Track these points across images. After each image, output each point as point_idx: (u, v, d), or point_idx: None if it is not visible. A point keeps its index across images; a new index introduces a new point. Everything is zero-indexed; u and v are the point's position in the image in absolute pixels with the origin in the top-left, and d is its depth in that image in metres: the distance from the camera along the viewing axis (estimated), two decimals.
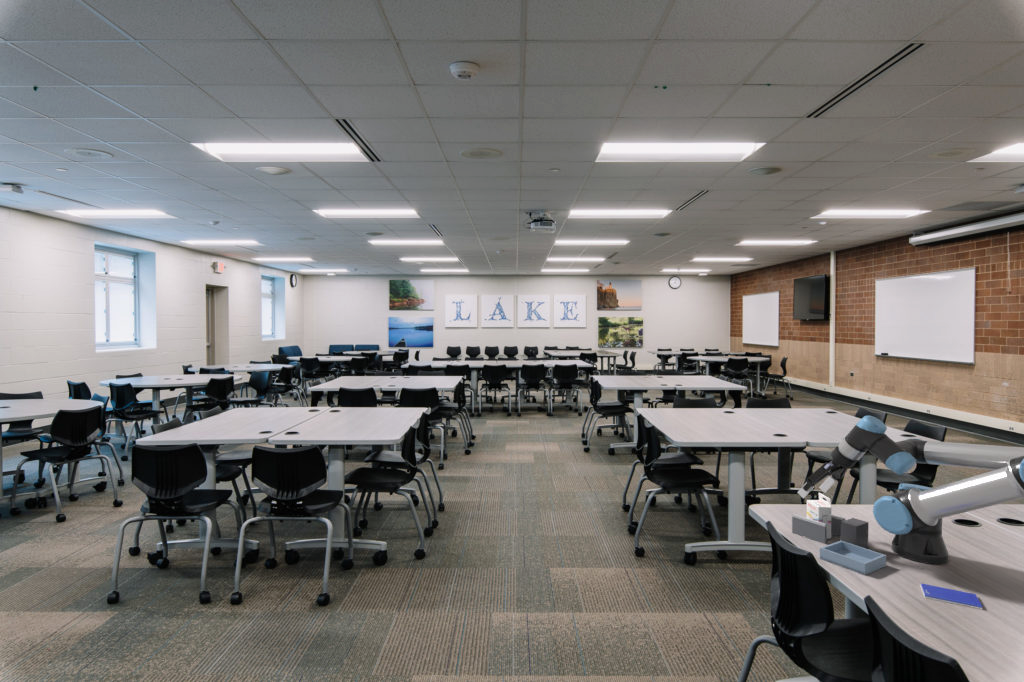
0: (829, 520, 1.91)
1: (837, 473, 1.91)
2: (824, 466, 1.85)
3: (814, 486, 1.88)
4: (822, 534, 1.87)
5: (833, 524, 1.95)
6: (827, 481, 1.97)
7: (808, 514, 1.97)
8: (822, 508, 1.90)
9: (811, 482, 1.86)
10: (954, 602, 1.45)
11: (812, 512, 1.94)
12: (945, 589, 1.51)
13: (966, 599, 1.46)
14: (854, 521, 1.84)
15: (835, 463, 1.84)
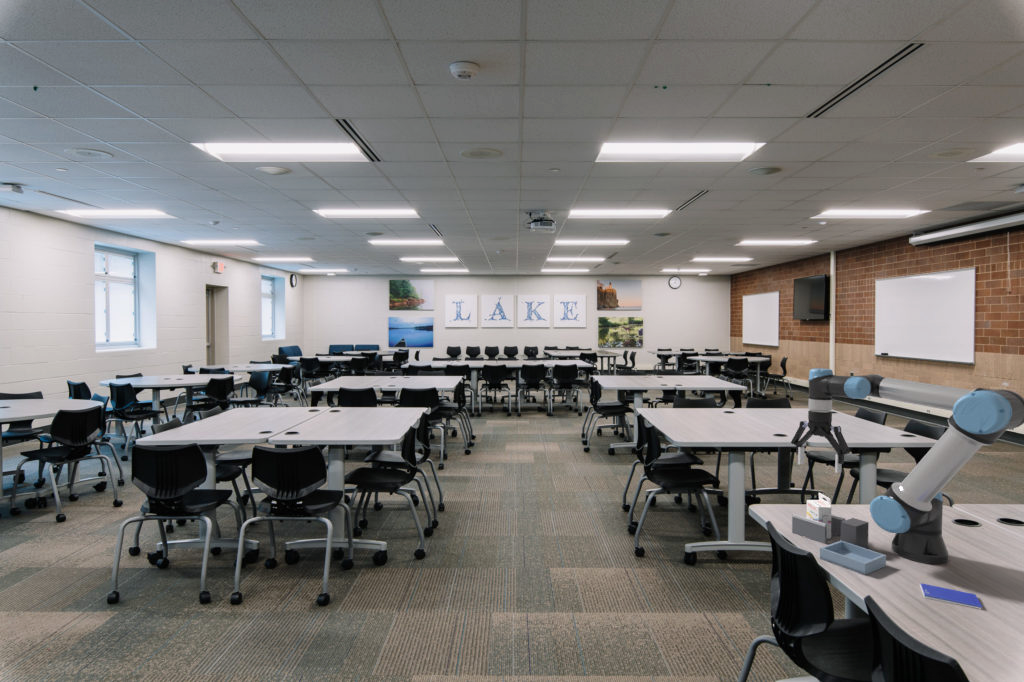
0: (829, 520, 1.90)
1: None
2: None
3: (799, 447, 1.99)
4: (822, 534, 1.87)
5: (833, 524, 1.95)
6: None
7: (808, 514, 1.97)
8: (822, 508, 1.90)
9: None
10: (954, 602, 1.45)
11: (812, 512, 1.94)
12: (945, 589, 1.51)
13: (965, 599, 1.46)
14: (854, 521, 1.84)
15: None
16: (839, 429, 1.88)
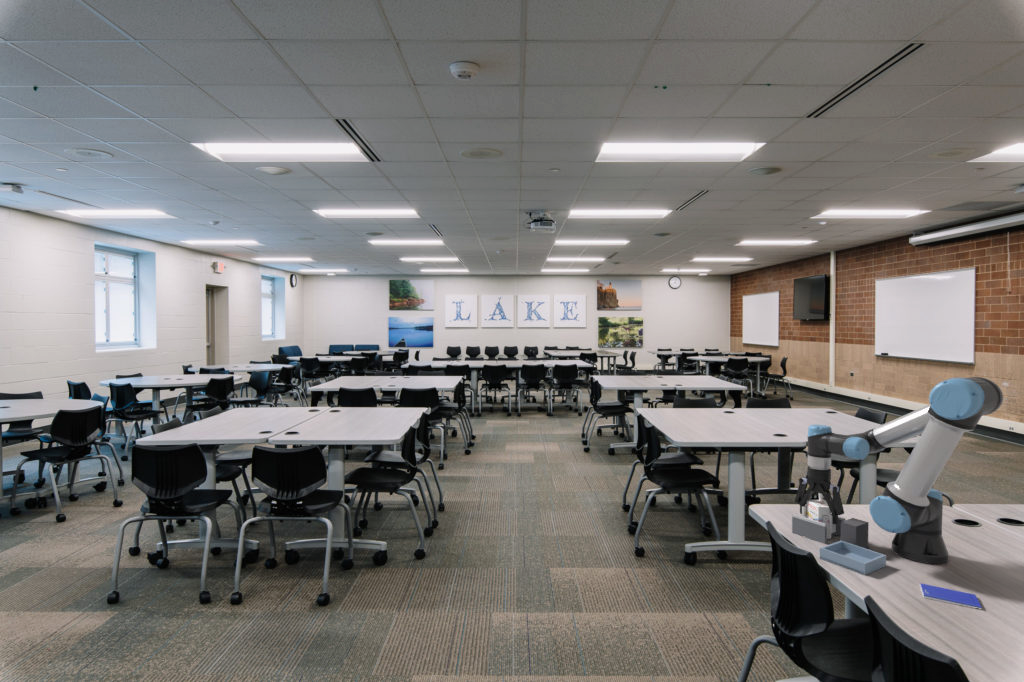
0: None
1: None
2: None
3: (803, 507, 1.98)
4: (822, 534, 1.87)
5: None
6: None
7: (808, 514, 1.97)
8: (822, 508, 1.91)
9: None
10: (953, 602, 1.45)
11: (812, 512, 1.94)
12: (944, 589, 1.51)
13: (965, 599, 1.46)
14: (854, 521, 1.84)
15: None
16: (838, 489, 1.89)
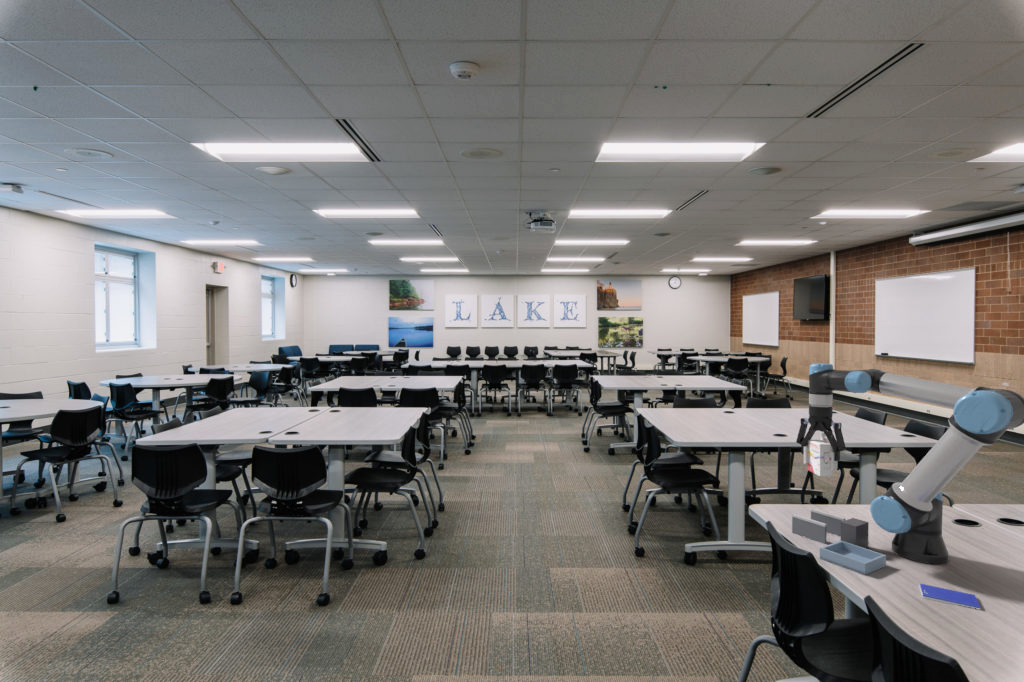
0: None
1: None
2: None
3: (805, 447, 1.97)
4: (822, 534, 1.87)
5: (833, 524, 1.95)
6: None
7: (810, 453, 1.96)
8: (824, 445, 1.90)
9: None
10: (952, 602, 1.45)
11: (813, 450, 1.94)
12: (944, 589, 1.51)
13: (964, 599, 1.46)
14: (854, 521, 1.84)
15: None
16: (839, 426, 1.88)
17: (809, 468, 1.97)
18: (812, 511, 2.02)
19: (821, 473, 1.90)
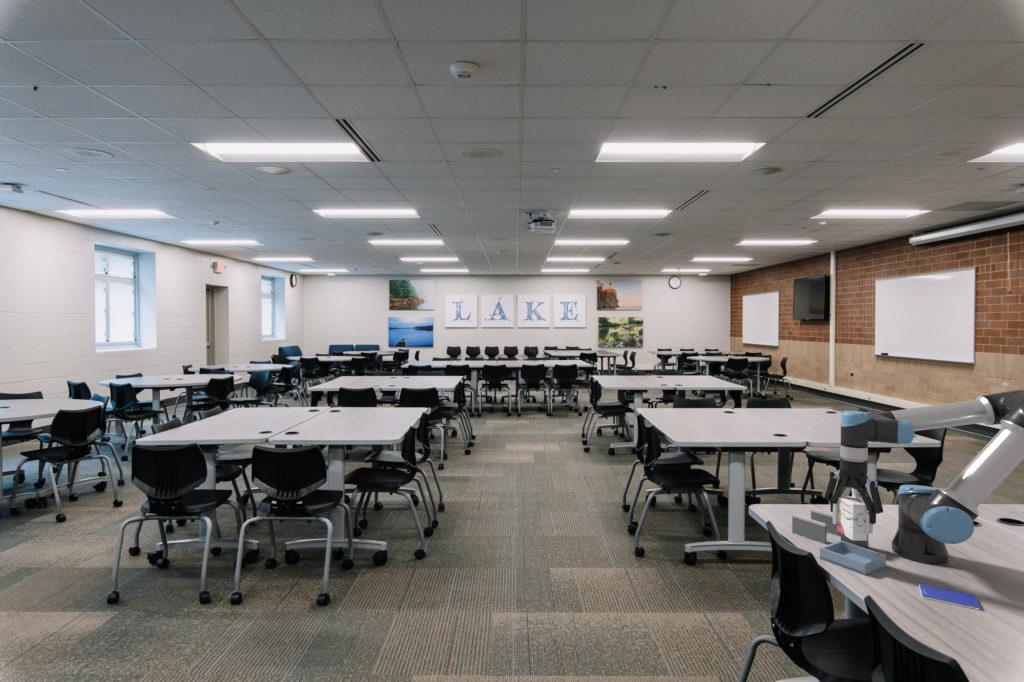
0: (865, 519, 1.67)
1: None
2: None
3: (834, 504, 1.75)
4: (822, 534, 1.87)
5: (833, 524, 1.95)
6: None
7: (840, 512, 1.74)
8: (857, 505, 1.67)
9: None
10: (951, 602, 1.45)
11: (845, 510, 1.71)
12: (944, 590, 1.51)
13: (964, 599, 1.46)
14: None
15: None
16: (876, 484, 1.65)
17: (839, 529, 1.74)
18: (812, 511, 2.02)
19: (854, 536, 1.67)
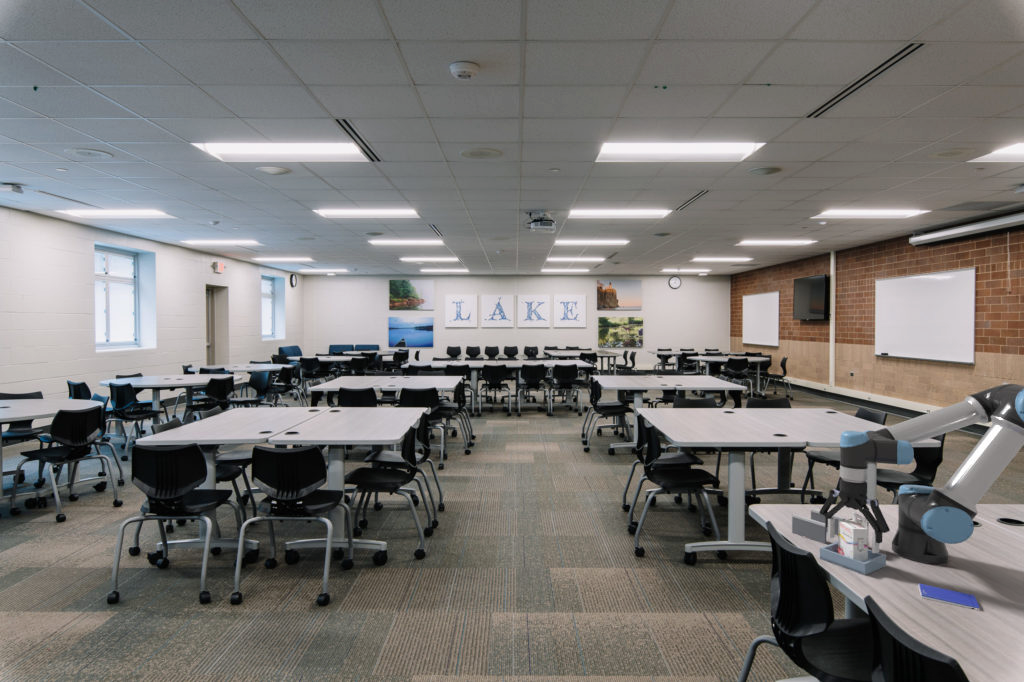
0: (865, 544, 1.67)
1: None
2: None
3: (829, 519, 1.76)
4: (822, 534, 1.87)
5: None
6: None
7: (840, 536, 1.74)
8: (857, 530, 1.67)
9: None
10: (951, 602, 1.45)
11: (845, 534, 1.71)
12: (943, 590, 1.51)
13: (963, 599, 1.46)
14: None
15: None
16: (876, 503, 1.65)
17: (839, 552, 1.74)
18: (812, 511, 2.02)
19: None
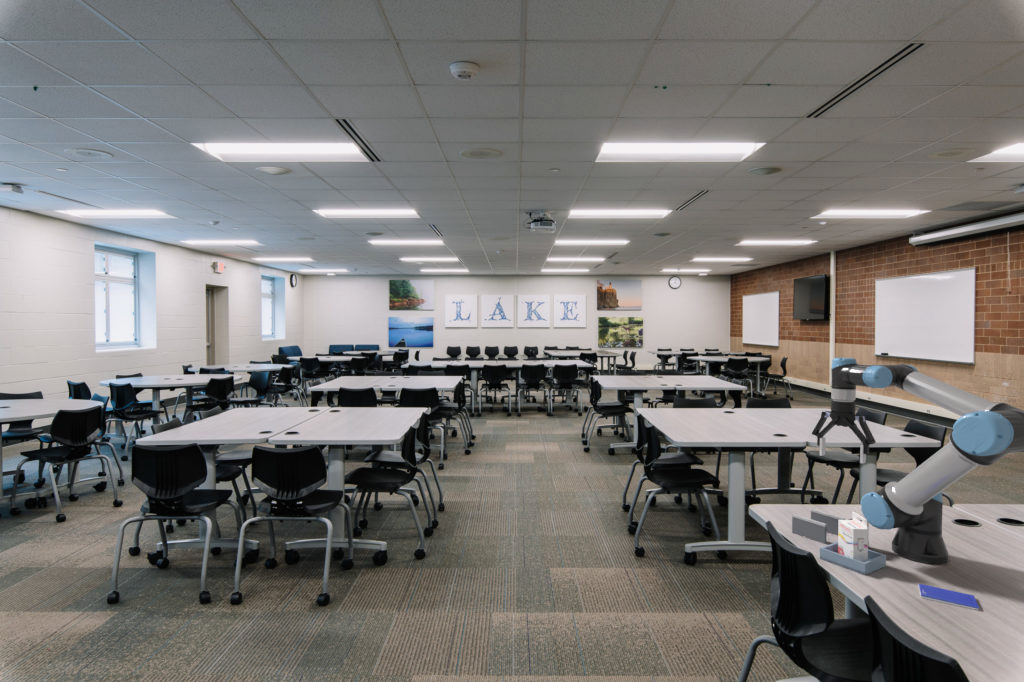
0: (865, 544, 1.67)
1: None
2: None
3: (821, 438, 1.95)
4: (822, 534, 1.87)
5: (833, 524, 1.95)
6: None
7: (840, 536, 1.74)
8: (857, 530, 1.67)
9: None
10: (950, 602, 1.45)
11: (845, 534, 1.71)
12: (943, 590, 1.51)
13: (963, 600, 1.45)
14: None
15: None
16: (864, 419, 1.85)
17: (839, 552, 1.74)
18: (812, 511, 2.02)
19: None
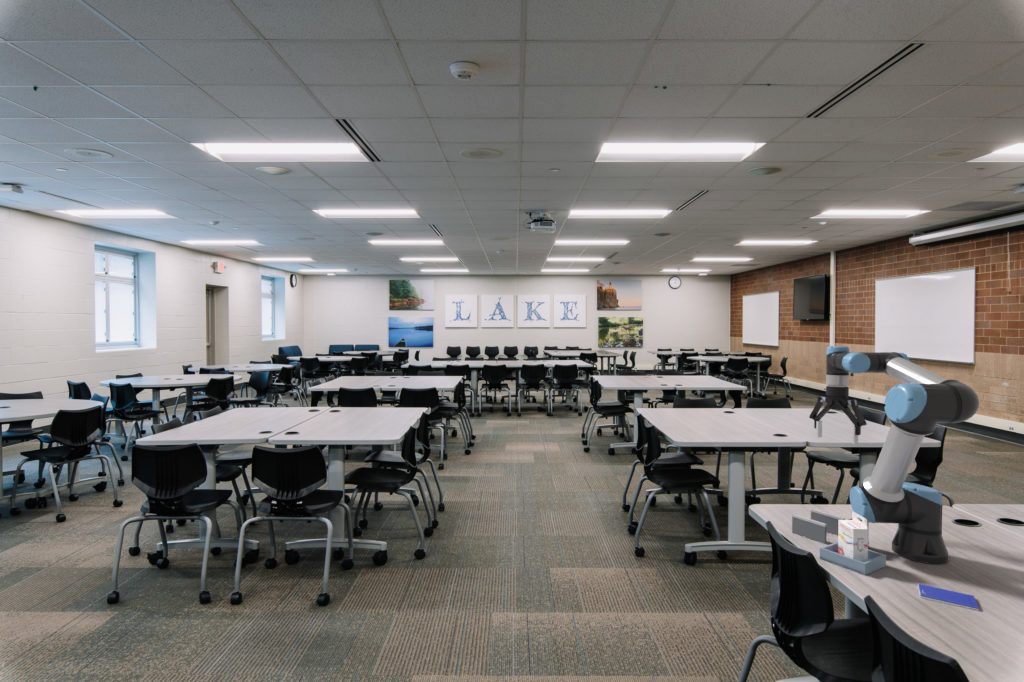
0: (865, 544, 1.67)
1: None
2: None
3: (817, 421, 2.10)
4: (822, 534, 1.87)
5: (833, 524, 1.95)
6: None
7: (840, 536, 1.74)
8: (857, 530, 1.67)
9: None
10: (950, 602, 1.45)
11: (845, 534, 1.71)
12: (942, 590, 1.51)
13: (962, 600, 1.45)
14: None
15: None
16: (856, 402, 1.99)
17: (839, 552, 1.74)
18: (812, 511, 2.02)
19: None
